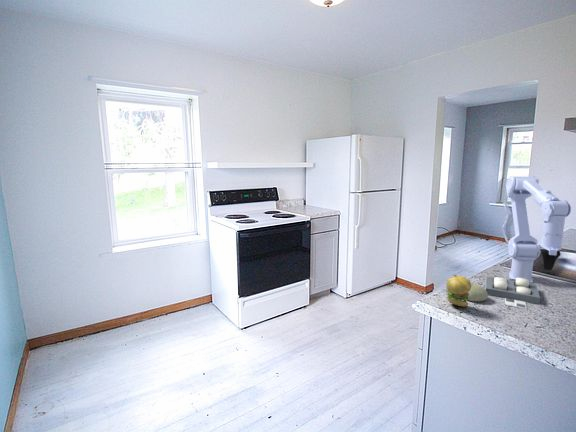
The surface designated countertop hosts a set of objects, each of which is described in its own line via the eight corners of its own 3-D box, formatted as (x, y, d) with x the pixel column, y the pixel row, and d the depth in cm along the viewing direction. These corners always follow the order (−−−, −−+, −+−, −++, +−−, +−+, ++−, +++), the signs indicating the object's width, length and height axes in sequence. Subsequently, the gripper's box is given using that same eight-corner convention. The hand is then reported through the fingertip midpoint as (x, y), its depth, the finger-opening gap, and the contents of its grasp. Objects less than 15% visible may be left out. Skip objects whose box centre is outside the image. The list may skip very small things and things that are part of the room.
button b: (493, 286, 121) (494, 278, 121) (506, 288, 119) (507, 281, 119) (493, 289, 118) (494, 282, 118) (507, 292, 116) (507, 284, 115)
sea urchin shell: (495, 299, 109) (478, 283, 110) (476, 312, 112) (460, 296, 112) (484, 289, 118) (469, 274, 118) (466, 301, 120) (452, 286, 120)
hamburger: (473, 307, 107) (476, 274, 105) (462, 313, 103) (465, 278, 101) (451, 299, 114) (454, 268, 112) (440, 304, 110) (442, 272, 108)
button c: (514, 284, 123) (515, 276, 123) (528, 286, 121) (529, 278, 121) (515, 287, 120) (516, 280, 119) (529, 289, 118) (530, 282, 117)
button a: (493, 283, 127) (494, 276, 127) (506, 285, 125) (506, 278, 125) (493, 286, 124) (494, 279, 123) (506, 289, 122) (507, 281, 121)
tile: (504, 298, 114) (504, 297, 114) (525, 302, 111) (525, 301, 111) (505, 305, 109) (505, 303, 109) (526, 309, 106) (526, 308, 106)
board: (486, 281, 130) (487, 276, 130) (535, 289, 122) (535, 284, 121) (485, 294, 118) (486, 288, 118) (539, 304, 109) (540, 297, 109)
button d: (515, 293, 118) (516, 285, 117) (529, 295, 116) (530, 287, 115) (515, 297, 114) (516, 289, 114) (530, 299, 112) (531, 291, 112)
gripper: (536, 228, 122) (532, 262, 124) (540, 236, 110) (535, 273, 112) (560, 230, 118) (555, 265, 120) (566, 238, 106) (561, 276, 108)
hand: (547, 269), depth 116 cm, fingers closed
